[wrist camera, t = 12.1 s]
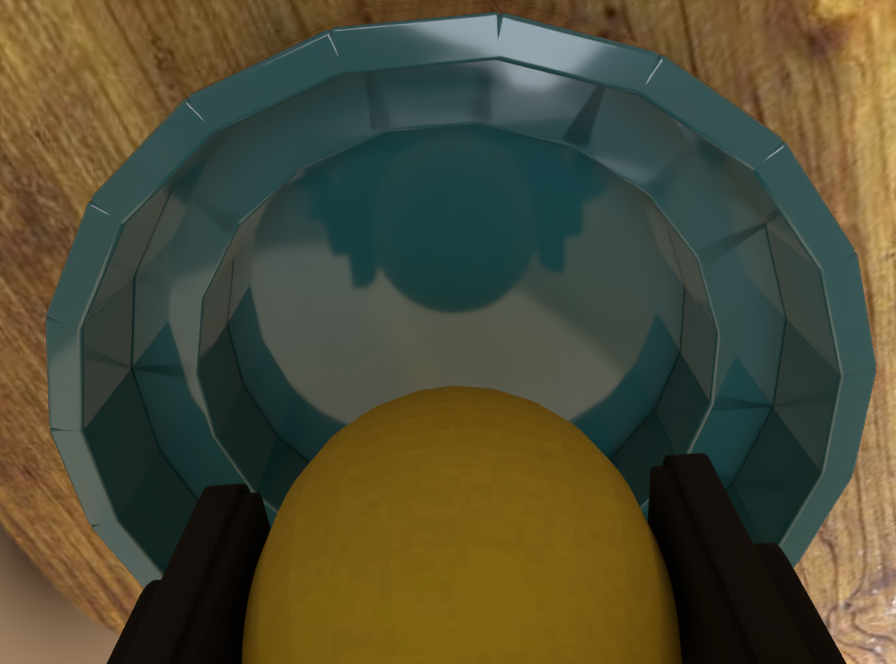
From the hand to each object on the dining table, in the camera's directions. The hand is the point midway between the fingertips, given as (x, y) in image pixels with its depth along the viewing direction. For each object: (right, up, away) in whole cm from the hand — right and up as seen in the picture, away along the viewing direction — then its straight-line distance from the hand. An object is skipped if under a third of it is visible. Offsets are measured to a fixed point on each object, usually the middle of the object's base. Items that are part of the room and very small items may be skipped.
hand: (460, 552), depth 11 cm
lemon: (0, +1, +3) cm, 3 cm away
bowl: (0, +3, +7) cm, 7 cm away
